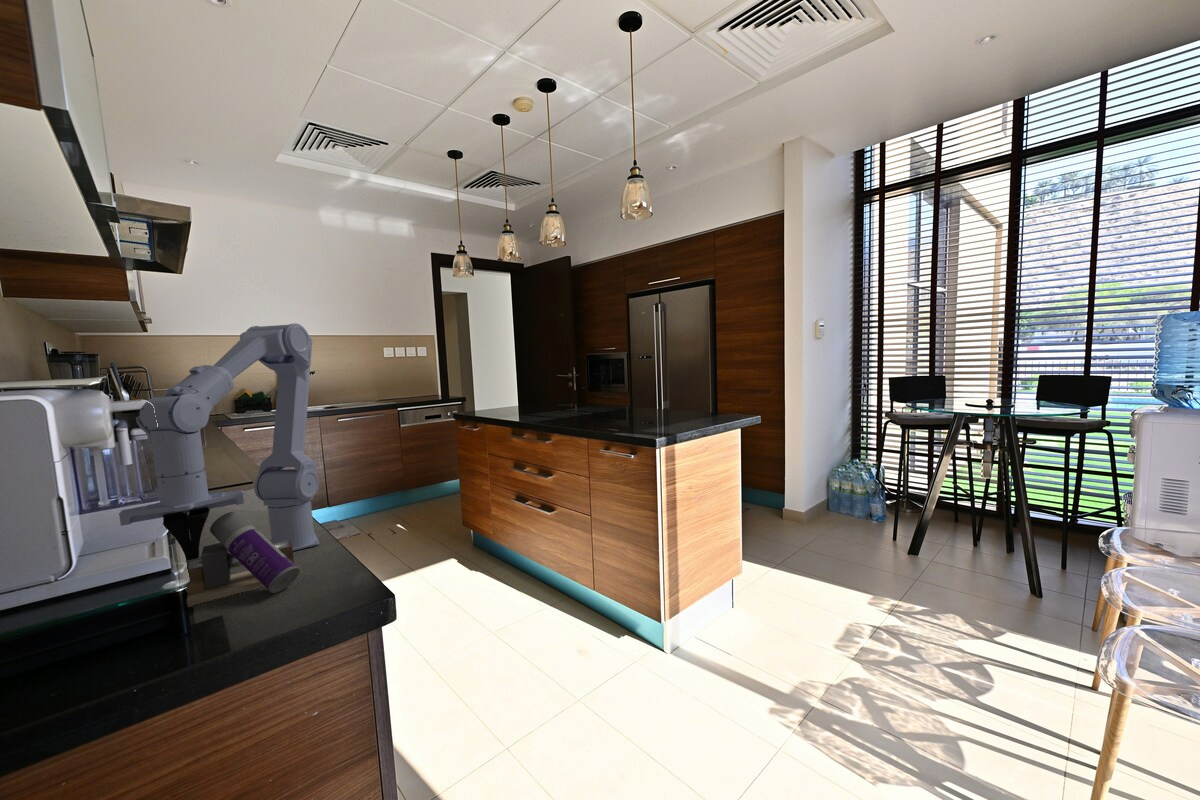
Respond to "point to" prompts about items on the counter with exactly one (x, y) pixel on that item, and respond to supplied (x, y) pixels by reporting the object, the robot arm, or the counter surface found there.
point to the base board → (236, 584)
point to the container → (254, 551)
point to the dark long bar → (233, 558)
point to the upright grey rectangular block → (215, 565)
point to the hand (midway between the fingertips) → (192, 557)
